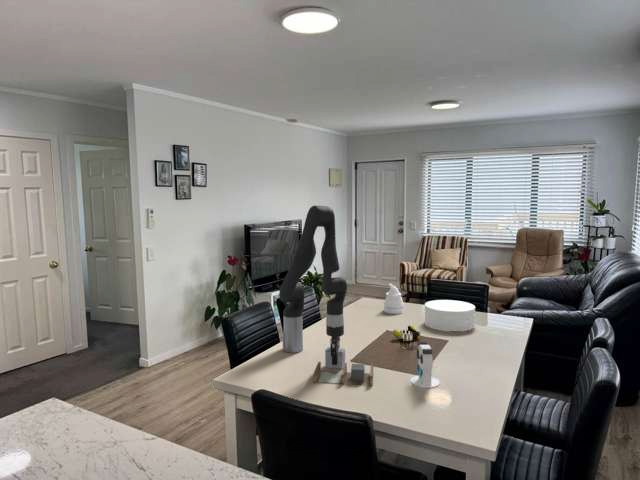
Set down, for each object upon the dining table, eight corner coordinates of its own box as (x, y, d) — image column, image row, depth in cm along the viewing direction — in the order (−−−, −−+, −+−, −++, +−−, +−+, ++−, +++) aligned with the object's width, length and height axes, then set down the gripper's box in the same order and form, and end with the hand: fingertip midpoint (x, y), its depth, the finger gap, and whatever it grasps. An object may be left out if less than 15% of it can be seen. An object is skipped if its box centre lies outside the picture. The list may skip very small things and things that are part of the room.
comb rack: (313, 385, 170) (313, 373, 169) (318, 373, 182) (318, 361, 181) (372, 388, 166) (372, 376, 166) (373, 376, 178) (373, 364, 178)
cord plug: (351, 381, 171) (351, 369, 170) (352, 372, 180) (352, 360, 179) (363, 382, 170) (363, 370, 169) (364, 372, 179) (364, 361, 179)
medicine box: (345, 367, 187) (345, 348, 187) (342, 371, 183) (342, 351, 182) (328, 365, 190) (328, 346, 189) (325, 369, 186) (324, 349, 185)
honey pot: (383, 313, 277) (383, 285, 275) (384, 308, 289) (384, 282, 288) (404, 314, 275) (404, 286, 273) (403, 309, 287) (403, 282, 286)
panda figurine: (407, 375, 178) (408, 340, 177) (435, 375, 178) (436, 340, 177) (413, 388, 166) (413, 350, 165) (442, 388, 166) (443, 350, 165)
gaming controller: (390, 339, 225) (405, 344, 217) (390, 329, 225) (405, 333, 217) (410, 333, 234) (424, 338, 226) (410, 324, 234) (425, 328, 226)
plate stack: (479, 322, 255) (480, 303, 254) (467, 334, 232) (468, 314, 231) (433, 315, 270) (433, 297, 269) (417, 327, 247) (417, 307, 246)
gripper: (328, 318, 192) (328, 355, 194) (324, 328, 178) (324, 368, 180) (345, 319, 191) (345, 356, 193) (342, 328, 177) (342, 369, 179)
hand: (335, 362), depth 186 cm, fingers closed on medicine box, 5 cm apart
